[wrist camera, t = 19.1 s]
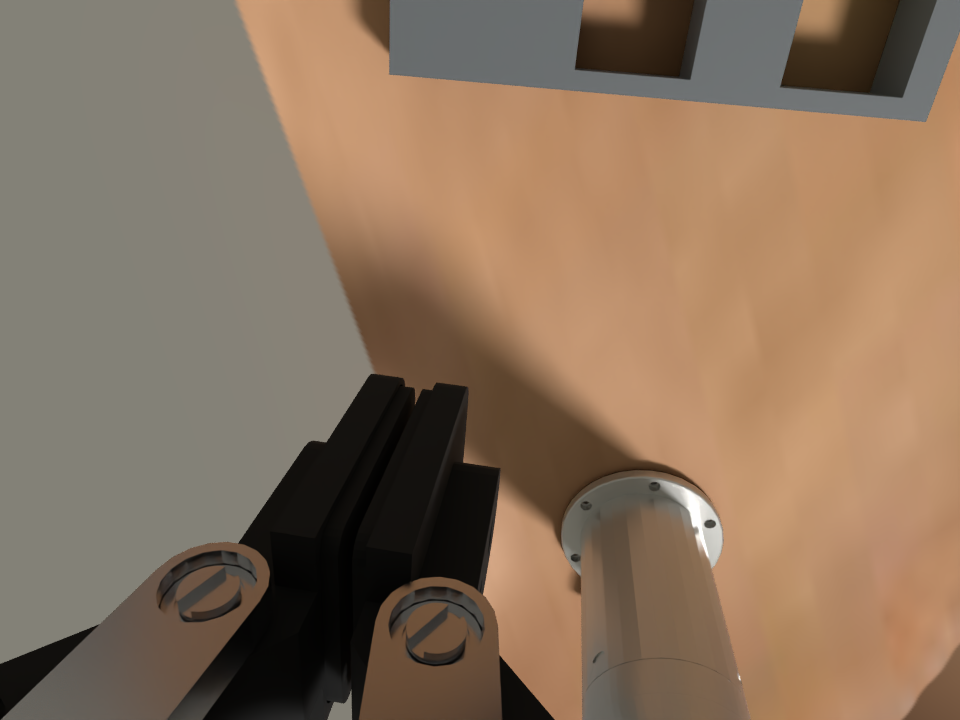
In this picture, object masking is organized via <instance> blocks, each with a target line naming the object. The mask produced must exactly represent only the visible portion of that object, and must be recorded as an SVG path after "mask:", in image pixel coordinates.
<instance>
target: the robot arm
mask: <svg viewBox="0 0 960 720" xmlns="http://www.w3.org/2000/svg"><path fill="white" fill-rule="evenodd" d="M467 407H468V387H465V386H458V385H450V384H443V383H436V384H435V386H434V388H433V390H426V389H423V390H422V391H421V394H420V396H419V398H418V400H417V402H416V405H415V389H414V388H411V387H405V382H404V379H403V378H399V377H392V376H385V375H377V374H371V375H370V376H369V377H368V378H367V380H366V382H365V383H364V385H363V386H362V388H361V390H360V391H359V392H358V394H357V396H356V397H355V399H354V400H353V402H352V404H351V405H350V407H349V408H348V410H347V411H346V413H345V414H344V416H343V418H342V419H341V421H340V422H339V424H338V425H337V427H336V428H335V430H334V431H333V433H332V435H331V436H330V438H329V439H328V441H327V442H319V441H311V442H309V443H308V444H307V445H306V446H305V447H304V448H303V450H302V451H301V453H300V454H299V456H298V457H297V459H296V460H295V461H294V463H293V464H292V466H291V467H290V469H289V470H288V472H287V473H286V475H285V476H284V477H283V479H282V481H281V482H280V483H279V485H278V486H277V488H276V489H275V490H274V492H273V494H272V495H271V497H270V498H269V499H268V501H267V502H266V504H265V505H264V506H263V508H262V509H261V511H260V512H259V514H258V515H257V517H256V518H255V520H254V521H253V523H252V524H251V525H250V527H249V528H248V530H247V531H246V533H245V534H244V536H243V537H242V539H241V540H240V541H239V543H238V544H237V543H230V542H220V543H208V544H205V545H201V546H197V547H193V548H190V549H188V550H186V551H184V552H182V553H180V554H178V555H176V556H174V557H172V558H171V559H169V560H168V561H167V562H165V563H164V564H163V565H162V566H160V567H159V568H158V569H157V570H156V571H155V572H154V573H153V574H151V575H150V576H149V577H148V578H147V579H146V580H145V581H144V582H143V583H142V584H141V585H140V586H139V587H138V588H137V589H136V590H135V591H134V592H133V593H132V594H131V595H130V596H129V597H128V598H127V599H126V600H124V601H123V602H122V603H121V604H120V605H119V606H118V607H117V608H116V609H115V610H114V611H113V612H112V613H111V614H110V615H109V616H108V617H107V618H106V619H105V620H104V621H103V622H102V623H101V624H99V625H97V626H94V627H92V628H89V629H87V630H84V631H82V632H79V633H77V634H74V635H72V636H69V637H67V638H64V639H62V640H59V641H57V642H54V643H52V644H49V645H47V646H44V647H42V648H39V649H37V650H34V651H32V652H29V653H27V654H24V655H22V656H19V657H17V658H14V659H12V660H9V661H7V662H4V663H2V664H0V720H327V719H328V716H329V713H330V711H331V708H332V705H333V703H334V702H339V703H345V702H346V701H347V699H348V697H349V694H350V691H351V689H352V720H554V718H553V717H552V716H551V715H550V714H549V713H548V711H547V710H546V709H545V708H544V707H543V706H542V704H541V703H540V702H539V701H538V700H537V699H536V697H535V696H534V695H533V694H532V693H531V692H530V690H529V689H528V688H527V687H526V686H525V685H524V683H523V682H522V681H521V680H520V679H519V678H518V676H517V675H516V674H515V673H514V672H513V670H512V669H511V668H510V667H509V666H508V665H507V663H506V662H505V661H504V660H503V659H502V658H501V656H500V655H499V638H498V624H497V620H496V616H495V611H494V609H493V608H492V606H491V605H490V603H489V602H488V600H487V599H486V597H485V596H483V591H484V585H485V580H486V574H487V568H488V562H489V556H490V550H491V544H492V537H493V530H494V523H495V516H496V508H497V499H498V490H499V482H500V471H501V470H500V468H495V467H488V466H481V465H474V464H468V463H463V457H464V444H465V432H466V419H467ZM561 540H562V547H563V551H564V554H565V557H566V558H567V560H568V562H569V563H570V565H571V567H572V568H573V569H574V570H575V571H576V572H577V573H578V574H579V575H580V576H581V637H582V720H751V717H750V714H749V710H748V706H747V702H746V698H745V694H744V691H743V687H742V683H741V679H740V675H739V672H738V668H737V664H736V660H735V656H734V652H733V649H732V645H731V641H730V637H729V633H728V629H727V625H726V622H725V618H724V614H723V610H722V606H721V602H720V599H719V595H718V591H717V587H716V583H715V579H714V576H713V572H712V568H713V567H714V566H715V565H716V563H717V561H718V559H719V557H720V555H721V552H722V547H723V542H724V538H723V528H722V524H721V521H720V517H719V515H718V513H717V511H716V508H715V506H714V505H713V503H712V502H711V501H710V500H709V498H708V497H707V496H706V495H705V494H704V493H703V492H702V491H701V490H699V489H698V488H697V487H696V486H694V485H693V484H691V483H689V482H687V481H685V480H684V479H682V478H679V477H676V476H673V475H670V474H668V473H662V472H657V471H651V470H632V471H624V472H618V473H615V474H611V475H608V476H605V477H603V478H600V479H598V480H596V481H594V482H592V483H591V484H589V485H588V486H586V487H585V488H584V489H582V490H581V491H580V492H579V493H578V494H577V495H576V496H575V497H574V498H573V499H572V500H571V502H570V504H569V506H568V507H567V509H566V511H565V514H564V517H563V520H562V529H561Z"/></svg>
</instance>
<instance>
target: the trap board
mask: <svg viewBox="0 0 960 720" xmlns="http://www.w3.org/2000/svg"><path fill="white" fill-rule="evenodd" d="M583 1H584V0H390V60H389V74H390V75H401V76H413V77H424V78H435V79H447V80H458V81H469V82H480V83H492V84H503V85H514V86H526V87H537V88H548V89H560V90H571V91H582V92H594V93H605V94H616V95H628V96H639V97H650V98H661V99H673V100H684V101H695V102H707V103H718V104H729V105H741V106H752V107H763V108H775V109H786V110H797V111H809V112H820V113H831V114H842V115H854V116H865V117H876V118H888V119H899V120H910V121H922V122H926V120H927V118H928V115H929V112H930V110H931V107H932V104H933V102H934V99H935V96H936V94H937V91H938V88H939V86H940V83H941V80H942V78H943V75H944V72H945V70H946V67H947V64H948V62H949V59H950V56H951V54H952V51H953V48H954V46H955V43H956V40H957V38H958V35H959V32H960V0H900V2H899V5H898V8H897V11H896V14H895V17H894V20H893V23H892V26H891V29H890V32H889V35H888V38H887V41H886V44H885V47H884V50H883V53H882V57H881V60H880V63H879V66H878V69H877V72H876V75H875V78H874V81H873V84H872V87H871V90H870V93H865V92H854V91H842V90H830V89H818V88H807V87H795V86H783V85H781V82H782V78H783V74H784V70H785V67H786V63H787V59H788V55H789V52H790V48H791V44H792V40H793V37H794V33H795V29H796V26H797V22H798V18H799V14H800V11H801V7H802V3H803V0H694V5H693V10H692V15H691V20H690V25H689V30H688V35H687V40H686V45H685V50H684V55H683V60H682V65H681V70H680V75H679V77H678V76H666V75H654V74H642V73H631V72H619V71H607V70H595V69H584V68H575V63H576V56H577V48H578V40H579V32H580V25H581V17H582V9H583Z"/></svg>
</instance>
